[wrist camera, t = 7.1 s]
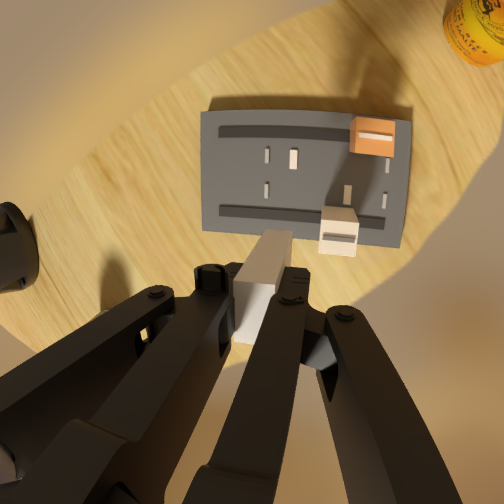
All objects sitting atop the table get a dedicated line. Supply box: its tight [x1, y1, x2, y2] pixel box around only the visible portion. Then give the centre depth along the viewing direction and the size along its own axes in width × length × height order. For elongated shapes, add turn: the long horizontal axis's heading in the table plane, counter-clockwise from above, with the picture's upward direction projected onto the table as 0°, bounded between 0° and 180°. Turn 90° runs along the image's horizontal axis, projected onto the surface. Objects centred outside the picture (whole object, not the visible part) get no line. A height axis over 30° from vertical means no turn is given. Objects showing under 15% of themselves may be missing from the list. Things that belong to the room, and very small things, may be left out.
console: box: [201, 109, 412, 248], centre depth 25 cm, size 18×11×2 cm, turn 90°
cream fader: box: [318, 206, 359, 257], centre depth 22 cm, size 3×2×5 cm
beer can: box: [444, 0, 504, 67], centre depth 10 cm, size 6×6×15 cm
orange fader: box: [349, 117, 395, 157], centre depth 19 cm, size 3×2×5 cm
